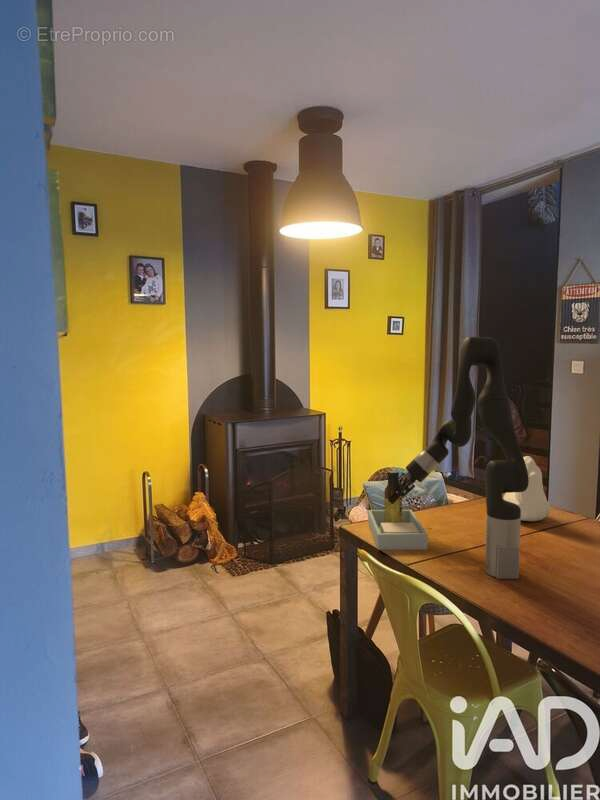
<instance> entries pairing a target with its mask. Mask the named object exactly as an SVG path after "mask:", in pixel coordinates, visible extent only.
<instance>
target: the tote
mask: <svg viewBox="0 0 600 800" xmlns="http://www.w3.org/2000/svg"><path fill="white" fill-rule="evenodd" d="M381 523H385V509H368V510H367V524H368V527H369V530H370V532H371V534H372V538H373V540H374V543H375V545H376V549H377V550H378V551H379V550H381V551H383V550H385V551H387V550H388V551H389V550H391V551H393V550H394V551H396V550H405V551H406V550H409V551H410V550H428V541H429V540H428V539H429V538H428V537H429V535H428V532H427V531H426V529H425V527H423V525H422V523H421V522H420V521H419V519H418V518H417V516H416V514H415V513H414V512H413V510H412V509H402V523H413V524H414V526H415V527H416V529H417V530H418V533H380V526H381Z"/></svg>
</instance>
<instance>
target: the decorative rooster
mask: <svg viewBox="0 0 600 800" xmlns="http://www.w3.org/2000/svg"><path fill="white" fill-rule="evenodd" d="M523 458H524V461H525V464H526V467H527V472H528V478H529V483H528V487H527V489H526V490H525V491H524V492H511V493H504V496H503V499H504V500H505V501H508V502H511V503H514V504H516V505H518V506H519V507H520V509H521V521H526V522H536V521H537V522H538V521H541V520H543V519H545V517H546V516H548V515H550V513H551V504H550V503H549V502H548V500H547V496H546V494H545V492H544V491H545V490H544V486H543V474H542V470H541V469H540V467H539V466H538V465H537V463H536V462H535V460H534V458H532V456H528V455H525V456H523Z"/></svg>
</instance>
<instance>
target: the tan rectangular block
mask: <svg viewBox="0 0 600 800" xmlns="http://www.w3.org/2000/svg"><path fill="white" fill-rule="evenodd" d="M380 533H418V530H417V529H416V527H415V526H414V524H413V523H381V526H380Z"/></svg>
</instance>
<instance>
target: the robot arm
mask: <svg viewBox="0 0 600 800" xmlns="http://www.w3.org/2000/svg"><path fill="white" fill-rule="evenodd" d="M459 351H460V353H459V359H458V369H457V378H456V387H455V393H454V397H453V403H452V406H451V410H450V417H451V418H452V419H449V420H446V421H445V422H443V424H442V425H441V426H440V428H439V430H438V431H437V433H436V435H435V436H434V438H433V439H432V441H431V442H430V443H429V444H428V445H427V446H426V447H425V448H424V449H423V450H422V451H421V452H420V453H419V454H417V455H416V456H415V457H414V458H413V459H412V460H411V461H410V462H409V463H408V464H407V465H406V466H405V470H406V471H407V472H406V473H405V472H402V473H401V474H399V476H398V482H399V486H398V487H399V488H398V489H397V491H396V493H394V494H393V495H392V496H391V497H390V498H389V499H388V500H389V502H390V503H391V504H393V503H394V502H395V501H396V500H397V499H398V498H399V497H402V498H404V497H406V495H408V494H409V493H410V492H411V491H412V490H413V489H415V487H416V485H415V483H416V481H417V482H418V483H422V482H423V481H425V479H427V477H429V475H431V473H433V472H434V471H435V469H436V468H437V467H438V466H439V464H440V463H441V462H443V461H444V460H445V459H446V458H447V456H448V455H449V452H450V451H449V449H448V448H447V446H446V445H447V443H448V441H449V442H450V443H451V444H452V445H453V446H455V447H458V448H463V447H465V446H466V445H467V444H468V443H469V441H470V440H471V437H472V415H473V412H474V408H475V405H476V404H477V411H478V415H479V420H480V424H481V425H482V427H483V428H484V430H485V431H486V432H487V433H488V434H489V435H490V436H491V438H492V439H494V440H495V441H496V442H497V443H498V445H499V446H500V448H501V449H502V451H503V454H504V455H505V458H506V459H499V460H498V459H496V460H490V461H489V462H488V463H486V467H485V472H484V473H485V503H486V504H485V506H486V523H485V524H486V525H485V526H486V528H485V529H486V530H485V559H484V560H485V564H484V568H485V569H484V570H485V572H486V574H487V575H489V576H492V577H494V578H496V579H497V580H506V579H508V580H509V579H510V580H515V579H517V580H518V579H519V575H520V572H519V571H520V551H521V550H520V549H521V548H520V547H521V545H520V544H521V521H522V520H521V509H520V507H519V506H518V505H516V504H514V503H511V502H508V501H505V500H504V497H503V493H504V494H505V493H511V492H524V491H525V490H526V489H527V487H528V483H529V478H528V472H527V467H526V464H525V461H524V458H523V457H524V456H523V452H522V450H521V447H520V443H519V440H518V437H517V433H516V429H515V422H514V419H513V414H512V413H513V412H512V408H511V404H510V399H509V396H508V391H507V389H506V384H505V379H504V374H503V373H504V371H503V365H502V364H503V363H502V358H501V357H502V356H501V349H500V346H499V343H498V341H497V339H495V338H493V337H482V336H467V337H466V338H464V340H463V342H462V343H461V348H460V350H459ZM472 366H476V367H478V366H479V367H481V366H483V367H485V368H486V377H487V378H486V381H485V383H484V385H483V388H481V391H480V393H479V395H478V397H477V398H476V391H475V388H474V386H473V383H472V380H471V375H470V373H471V372H470V371H471V368H472ZM476 399H477V401H476ZM476 402H477V403H476Z"/></svg>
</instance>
